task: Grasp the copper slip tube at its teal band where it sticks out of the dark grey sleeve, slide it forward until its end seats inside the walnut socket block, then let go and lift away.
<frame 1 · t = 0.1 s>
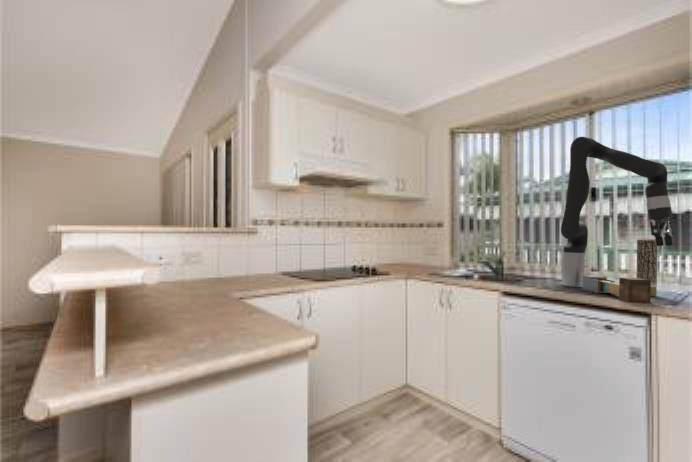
hand: (664, 245, 142), 22 cm above the worktop, tool pointing down, fingers open, 8 cm apart
socket block: (634, 301, 136), on the worktop
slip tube: (607, 286, 150), point 3 cm above the worktop, slide at 0.0 cm
sleeve: (597, 292, 156), on the worktop
bark textured post: (646, 295, 150), on the worktop
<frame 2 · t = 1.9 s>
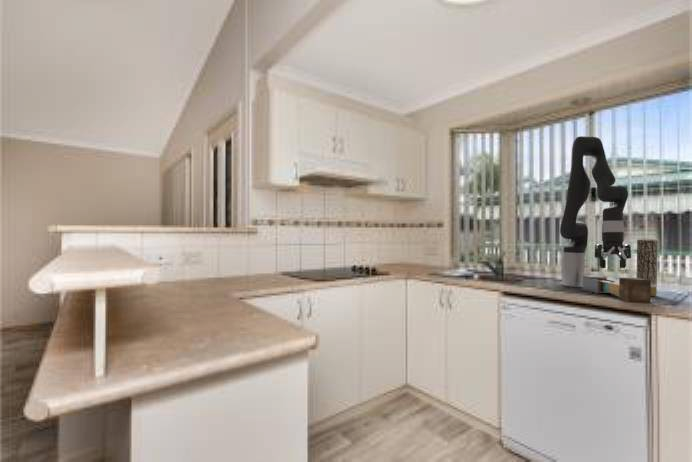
hand: (612, 268, 148), 12 cm above the worktop, tool pointing down, fingers open, 8 cm apart
nothing on the worktop moved.
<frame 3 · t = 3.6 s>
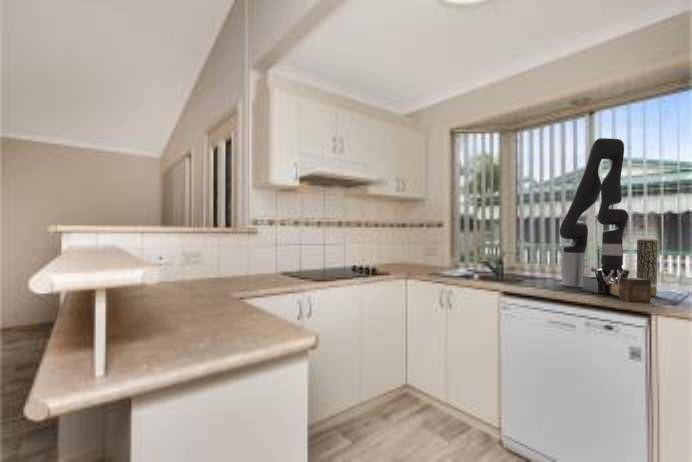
hand: (611, 292, 148), 1 cm above the worktop, tool pointing down, fingers closed on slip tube, 4 cm apart
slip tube: (608, 286, 150), point 3 cm above the worktop, slide at 0.0 cm, touching gripper
everything else where it was.
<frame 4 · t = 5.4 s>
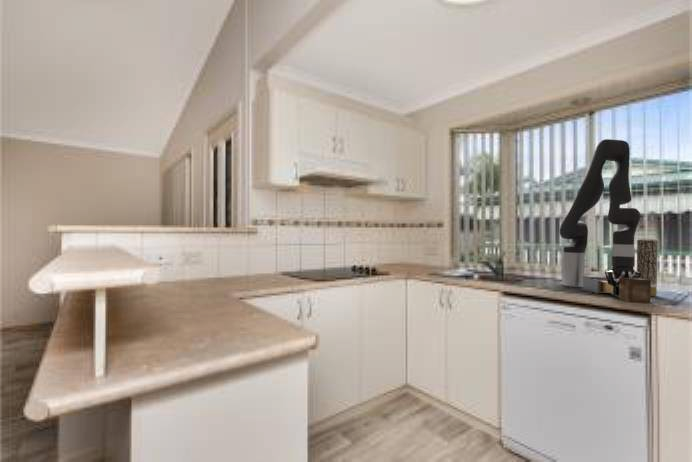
hand: (622, 295, 142), 1 cm above the worktop, tool pointing down, fingers closed on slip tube, 4 cm apart
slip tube: (618, 289, 144), point 3 cm above the worktop, slide at 6.0 cm, touching gripper
everything else where it was.
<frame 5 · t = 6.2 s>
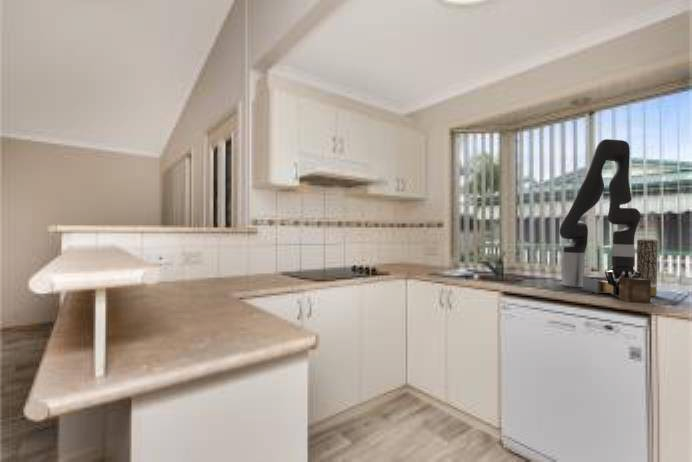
hand: (622, 295, 142), 1 cm above the worktop, tool pointing down, fingers closed on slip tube, 4 cm apart
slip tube: (618, 289, 144), point 3 cm above the worktop, slide at 6.0 cm, touching gripper
everything else where it was.
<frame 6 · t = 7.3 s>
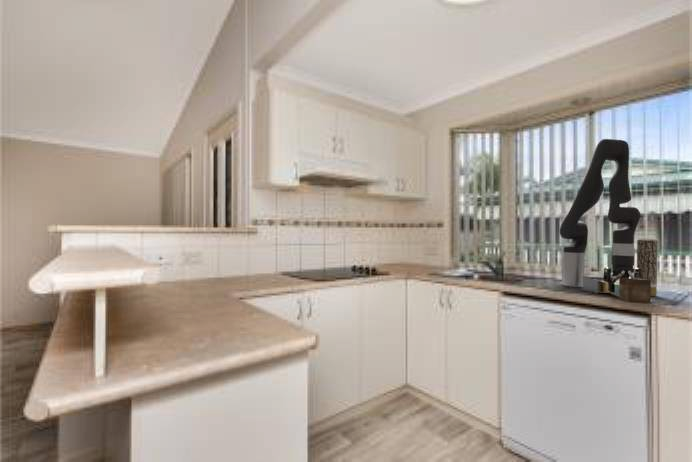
hand: (622, 292, 143), 2 cm above the worktop, tool pointing down, fingers open, 8 cm apart
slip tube: (618, 289, 144), point 3 cm above the worktop, slide at 6.0 cm
everything else where it was.
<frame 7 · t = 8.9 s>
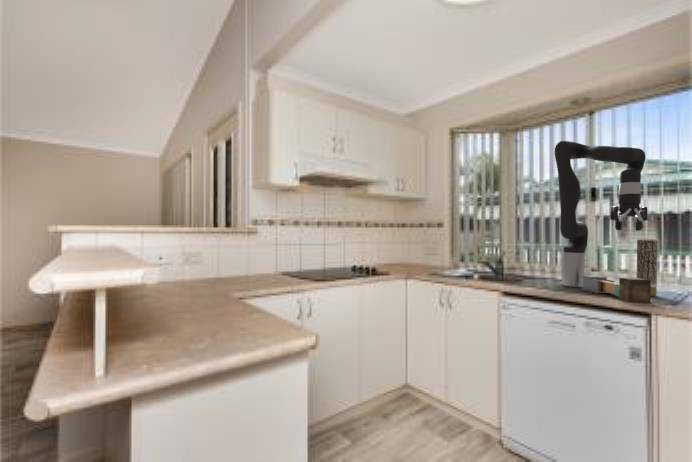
hand: (628, 230, 149), 29 cm above the worktop, tool pointing down, fingers open, 8 cm apart
nothing on the worktop moved.
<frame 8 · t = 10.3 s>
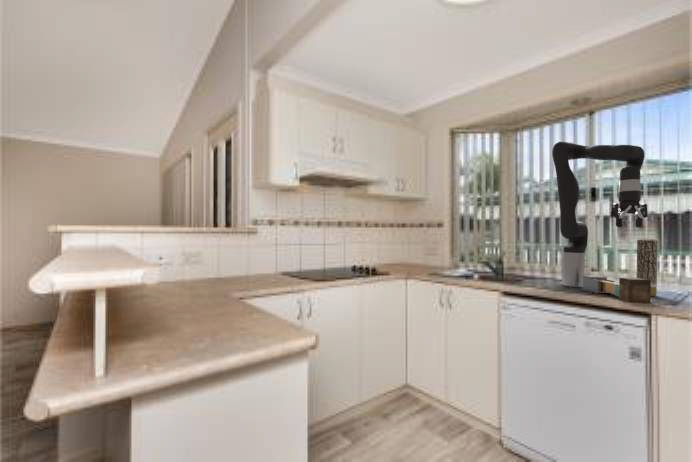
hand: (628, 227, 149), 30 cm above the worktop, tool pointing down, fingers open, 8 cm apart
nothing on the worktop moved.
at the end: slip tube slide at 6.0 cm; the gripper is holding nothing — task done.
